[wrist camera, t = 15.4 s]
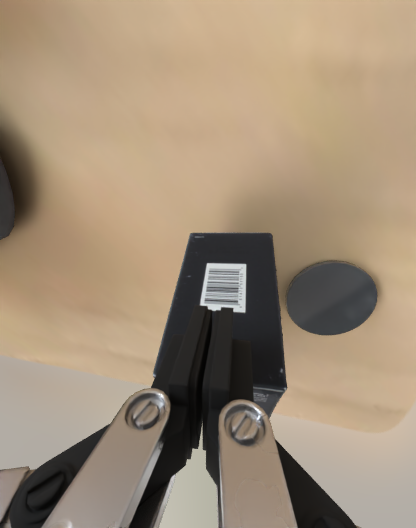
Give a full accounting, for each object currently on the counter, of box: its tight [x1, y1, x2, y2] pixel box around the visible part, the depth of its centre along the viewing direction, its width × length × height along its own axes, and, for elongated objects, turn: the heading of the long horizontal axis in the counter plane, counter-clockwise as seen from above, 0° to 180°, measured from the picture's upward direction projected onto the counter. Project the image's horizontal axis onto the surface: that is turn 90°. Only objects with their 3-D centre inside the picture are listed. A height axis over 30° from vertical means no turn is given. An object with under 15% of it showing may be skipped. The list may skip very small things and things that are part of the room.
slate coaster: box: [286, 261, 377, 335], centre depth 22 cm, size 8×8×1 cm
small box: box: [153, 233, 287, 418], centre depth 17 cm, size 11×6×10 cm
